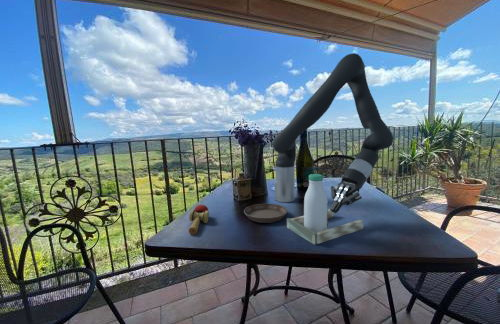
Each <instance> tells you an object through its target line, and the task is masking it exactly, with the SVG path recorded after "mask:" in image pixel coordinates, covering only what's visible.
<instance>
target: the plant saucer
mask: <svg viewBox="0 0 500 324" xmlns="http://www.w3.org/2000/svg"><path fill="white" fill-rule="evenodd" d="M287 213H288V209H287V208H286V207H284V206H283V205H280V204H275V203H257V204H253V205H250V206H247V207H245V208H244V210H243V214H245V216H246V217H247V218H248V219H250V220H251V221H253V222H256V223H262V224H263V223H264V224H267V223H269V224H270V223H275V222H278V221H281V220H282V219H283V218H284V217H285V216H286V214H287Z"/></svg>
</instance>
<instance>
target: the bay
mask: <svg viewBox="0 0 500 324" xmlns="http://www.w3.org/2000/svg"><path fill="white" fill-rule="evenodd" d="M334 217H335V213H334V212H332V211H331V210H330V208H328V219H331V218H334ZM286 228H287V230H289V231H292V233H294V234H296V235H298V236H300V237H301V238H303V239H304V240H306V241H308V242H309V243H311V244H313V245H315V246H316V245H318V244H322V243H325V242H327V241H330V240H335V239H337V238H340V237H342V236H345V235H348V234H352V233H355V232H358V231H361V230H363V229H364V220H363V219H357V220H354V221H350V222H348V223H345V224H341V225H338V226H335V227H331V228H328V229H327V230H324V231H321V232H317V233H316V232H314V231H312V230H310V229H308V228H307V227H305V226H304V215H301V216H296V217H293V218H292V217H291V218H290V217H287V218H286Z"/></svg>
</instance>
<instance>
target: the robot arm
mask: <svg viewBox="0 0 500 324" xmlns="http://www.w3.org/2000/svg"><path fill="white" fill-rule="evenodd" d="M365 67H366V66H365V62H364V61H363V59H362V56H360V55H359V54H358V53H349V54H347V55H345V56H343V57H342V58H341V59H340V60H339V61H338V63H337V65H336V66H335V67H334V68H333V70H332V71H331V73H330V74H329V76H328V77H326V78H327V79H325V81H324V82H323V83H322V84H321V85H320V86H319V88H317V90H316V91H315V92H314V93H313V94H312V96H311V97H310V98H308V99H307V101H306V102H305V104H303V106H302V107H301V108H300V109H299V111H298V112H297V113H296V115H294V117H293V118H292V120H290V122H289V123H288V124H287V125H286V126H285V127H284V128H283V129H282V130H281V131H280V132H279V133H278V134H276V136H275V137H274V138H273V139H272V140H273V141H272V149H273V150H274V151H275V152H277V158H276V159H275V181H274V200H275V201H277V202H280V203H292V202H294V201H295V200H296V199H295V198H296V196H295V195H296V191H295V190H296V189H295V186H296V185H295V183H296V182H295V181H296V180H295V163H296V156H297V155H296V153H297V141H296V140H297V139H298V138H299V137H300V135H302V134H303V133H304V132H305V131H306V130H308V129H309V128H311V127H312V126H313V125H314V124H315V123H317V121H319V120H320V119H321V118H322V117H323V116H324V115H325V113H326V112H327V111H328V110H329V108H330V107H331V105H332V104H333V101H334V100H335V98H336V97H337V95H338V94H339V92H340V91H341V89H342V88H343V87H344V86H346V84H347V85H348V87H349V89H350V91H351V93H352V97H353V99H354V104H355V109H356V112H357V115H358V117H359V118H358V119H359V120H360V123H361V127H363V129H366V130H368V129H370V131H371V133H372V134H370V135H368V136H367V137H366V138H365V139H364V140H363V142H362V144H361V147H360V151H359V153H358V154H357V156H356V157H355V158H354V160H353V161H352V162H351V164H350V165H349V166H348V168H347V170H346V171H345V172H344V173H343V175H342V177H341V181H340V182H339V183H338V184H337V185H335V186H334V185H331V186H330V196H331V199H332V200H333V202H332V204H331V205H330V208H329V209H330V210H331V211H332V212H334V214H338V212H339V211H340V210H341V208H342V207H343V206H350V205H352V204H354V203H356V202H357V201H360V200H361V199H362V198H363V196H362V195H361V194H360V190H362V188H363V187H364V184H365V183H366V182H367V180H368V179H369V177H370V176H371V173H372V170H373V169H374V167H375V165H376V164H377V163H378V161H379V154H378V152H380V151H381V150H385V149H389V148H390V147H392V145H393V143H394V136H393V133H392V131H391V129H390V128H389V127H388V125H387V124H386V123H385V121H383V119H382V118H381V115H380V114H381V113H380V112H379V109H378V106H377V104H376V102H375V100H374V98H373V96H372V93H371V90H370V88H369V85H368V81H367V76H366V69H365Z"/></svg>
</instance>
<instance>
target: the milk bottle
mask: <svg viewBox="0 0 500 324" xmlns="http://www.w3.org/2000/svg"><path fill="white" fill-rule="evenodd" d="M308 182H309V183H308V188H307V189H306V192H305V194H304V198H303V199H304V200H303V216H304V225H303V226H305V227H307V228H308V229H310V230H312V231H314V232H316V233H317V232H321V231H324V230H327V229H329V228H328V226H329V225H328V224H329V222H328V221H329V218H328V209H329V205H328V204H329V201H328V196H327V193H326V191H325V189H324V185H323V183H324V175H323V174H321V173H311V174H308Z"/></svg>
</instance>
